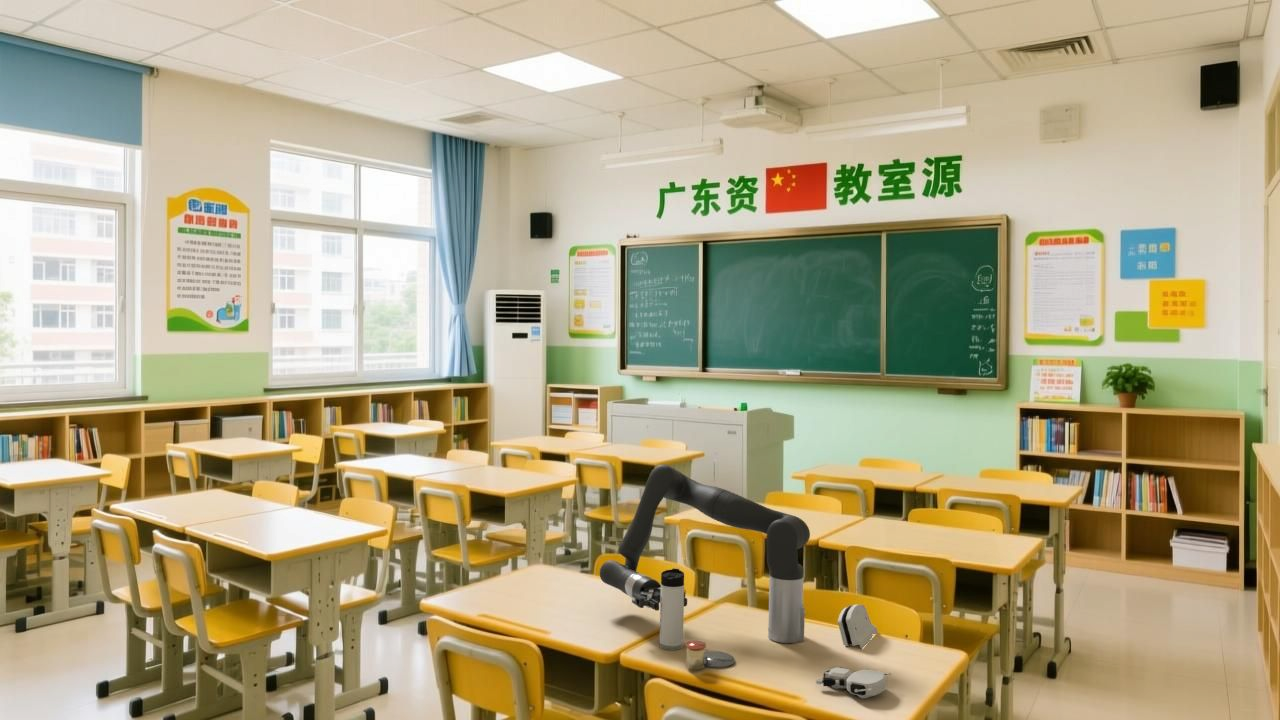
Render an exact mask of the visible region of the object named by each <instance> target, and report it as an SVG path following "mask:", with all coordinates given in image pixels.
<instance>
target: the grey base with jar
mask: <svg viewBox="0 0 1280 720" xmlns="http://www.w3.org/2000/svg"><path fill="white" fill-rule="evenodd" d="M685 647H686V662H685V663H686V668H687V669H690V670H696V671H698V670H702V669H704V668H709V669H725V668H729V667H732V666H734V664H735V657H734V655H732V654H731V653H727V652H724V651H719V650H706V649H705V648H707V644H706V642H704V641H702V640H698V639H695V640H693V639H691V640H687V641H686V642H685Z"/></svg>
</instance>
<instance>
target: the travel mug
mask: <svg viewBox="0 0 1280 720" xmlns="http://www.w3.org/2000/svg"><path fill="white" fill-rule="evenodd" d="M660 585H661V597H660V603H659V611H660V612H659V647H660V648H661V649H664V650H667V651H678V650H681V649H682V648H683V647H684V618H685V617H684V616H685V614H684V613H685V609H684V608H685V607H684V592H685V572H684V571H683V570H680V568H672V569H665V570H663V571H662V572H661V573H660Z"/></svg>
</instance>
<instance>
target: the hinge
mask: <svg viewBox="0 0 1280 720" xmlns="http://www.w3.org/2000/svg"><path fill="white" fill-rule="evenodd" d="M837 625H838V628H839V631H840V636H841V640H842V643H843V646H844V645H845V646H848V647H849V646H850V644H851V646H853V647H854V646H855V647H856V646H857V645H858V646H859V647H860V648H859V649H861V648H863V647H864V646H865V645H866V644H867V643H868V642H869V641H870V639H871V638H872V636H873V635H872V634H877V635H878V634H879V631H878V628H877V626H876V625H874V624H873V623H872V622H871V619H870V616H869V614H868V611H867V608H866V606H865V605H864V604H859V603H858V604H854V605H853V604H851V605H848V606H846V607H844V608H843V609H842V610H841V612H840V613H839V615H838V618H837ZM870 642H871V641H870ZM870 642H869V643H870Z"/></svg>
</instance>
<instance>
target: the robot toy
mask: <svg viewBox="0 0 1280 720" xmlns="http://www.w3.org/2000/svg"><path fill="white" fill-rule="evenodd" d="M891 675H892V673H891V672H888V673H883V672H882V671H877V670H871V669H860V670H857V671H855V672H852V671H851V670H850V669H848V668H844V667H841V666H838V667H833V668H831V669H830V668H829V669H827V670H826V671H824V673H823V677H822V679H820V678H817V679H816V680H815V683H816V685H821V684H823V687H832V688H833V689H836V688H837V689H836V690H838V689H844V690H845V689H846V690H847V691H848V692H849V694H851V695H854V696H855V695H856V696H857V697H858V698H860V699H863V700H866V699H869V698H870V697H874V696H877V695H879V694H881V693H883V692H884V691H885V690H886V688H887V686H888V684H887V683H888V682H887V676H891Z"/></svg>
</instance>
